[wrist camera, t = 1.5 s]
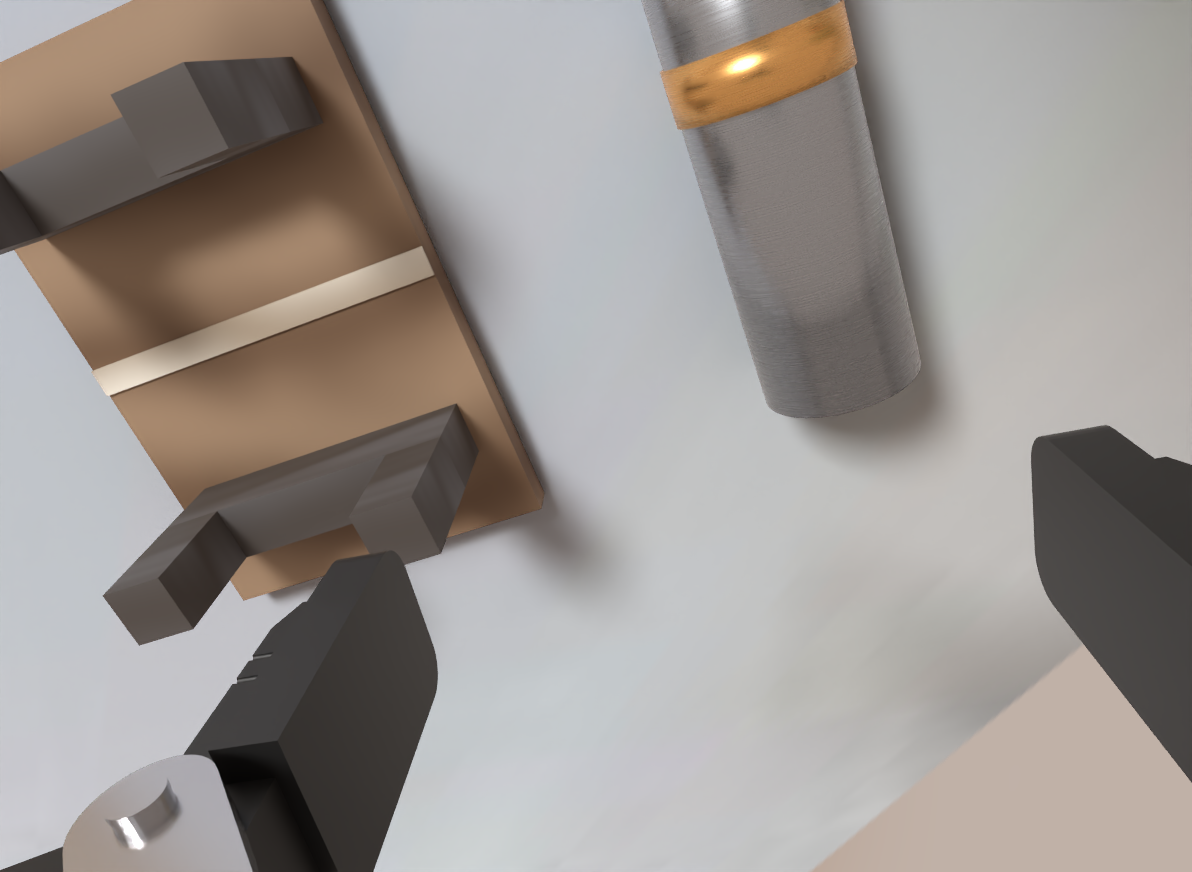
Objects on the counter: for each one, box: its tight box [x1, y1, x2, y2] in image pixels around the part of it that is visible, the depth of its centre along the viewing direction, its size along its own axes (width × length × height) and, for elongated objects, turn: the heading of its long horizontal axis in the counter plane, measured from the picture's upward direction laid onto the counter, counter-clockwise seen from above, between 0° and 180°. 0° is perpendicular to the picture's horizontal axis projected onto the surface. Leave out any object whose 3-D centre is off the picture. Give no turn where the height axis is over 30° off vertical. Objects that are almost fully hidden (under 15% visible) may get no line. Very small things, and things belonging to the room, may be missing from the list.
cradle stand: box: [0, 0, 544, 645], centre depth 27 cm, size 20×13×8 cm, turn 20°
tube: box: [641, 0, 921, 418], centre depth 24 cm, size 20×5×5 cm, turn 20°
